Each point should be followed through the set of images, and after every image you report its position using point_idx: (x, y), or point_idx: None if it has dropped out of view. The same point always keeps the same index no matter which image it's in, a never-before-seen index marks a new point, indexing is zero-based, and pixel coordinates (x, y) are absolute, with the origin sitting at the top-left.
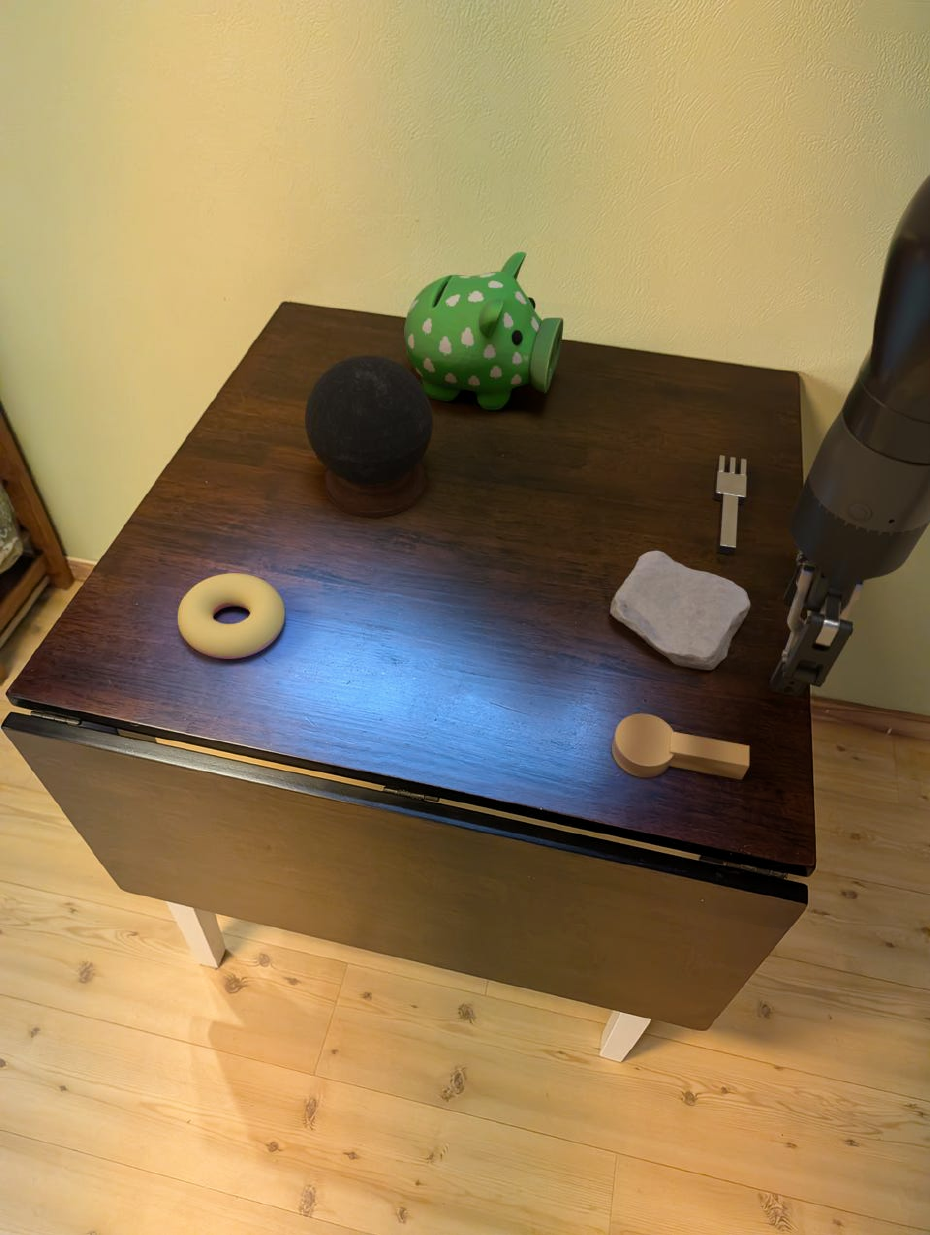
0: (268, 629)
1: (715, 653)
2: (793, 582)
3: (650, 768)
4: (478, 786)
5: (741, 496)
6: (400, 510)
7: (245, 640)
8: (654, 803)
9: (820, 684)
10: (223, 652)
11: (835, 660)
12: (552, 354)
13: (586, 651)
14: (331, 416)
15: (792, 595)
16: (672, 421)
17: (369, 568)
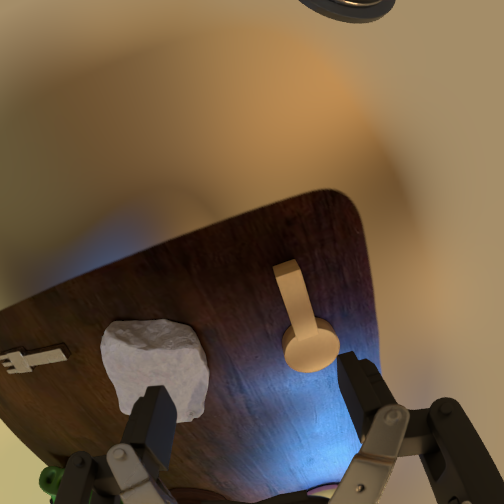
0: (330, 494)
1: (185, 343)
2: (169, 451)
3: (336, 335)
4: None
5: (20, 354)
6: (206, 491)
7: None
8: (351, 311)
9: (459, 406)
10: None
11: (490, 457)
12: (58, 483)
13: (236, 403)
14: None
15: (171, 424)
16: (14, 398)
17: (254, 486)
